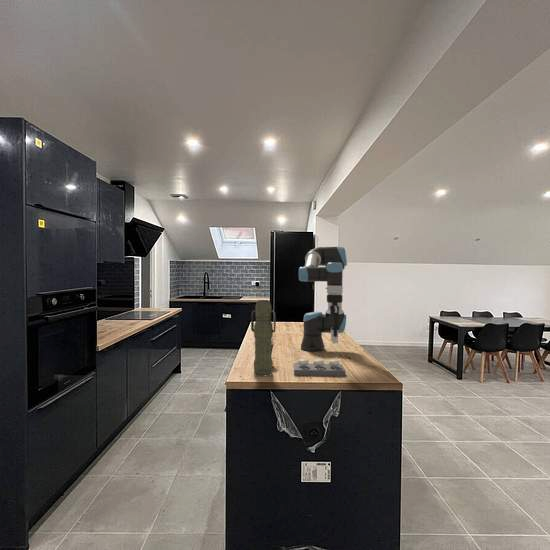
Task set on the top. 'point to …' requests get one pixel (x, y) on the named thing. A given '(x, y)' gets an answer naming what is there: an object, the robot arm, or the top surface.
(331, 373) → the button panel
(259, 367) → the thermos
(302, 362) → the button two dots
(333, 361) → the button one dot
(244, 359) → the top surface
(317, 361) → the button three dots
